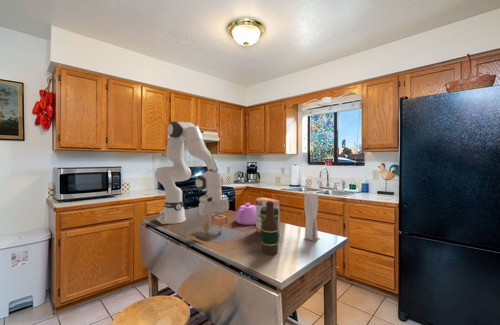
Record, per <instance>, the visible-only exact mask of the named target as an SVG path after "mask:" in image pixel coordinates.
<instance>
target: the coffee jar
mask: <svg viewBox="0 0 500 325" xmlns="http://www.w3.org/2000/svg"><path fill="white" fill-rule="evenodd" d="M266 208H267V206H266V207H262V208H261V214H260V215H261V233H260V241H261V242H262V225H263V222H264V220H265V219H266ZM273 209H274V219H275V220H276V222H277V224H278V216H279V212H278V209H277V208H273ZM278 242H280V236H279V233H278Z"/></svg>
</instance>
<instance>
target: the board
mask: <svg viewBox="0 0 500 325" xmlns="http://www.w3.org/2000/svg"><path fill="white" fill-rule="evenodd" d="M192 234H194V235H196V236H197V237H198V236H199V237H201V238H203V239H206V240H209V241H212V242H214V243H217V244H221V243H224V242H226V241H230V240H233V239H235V238H238V237H241V236H244V235H248V234H247V232H243V231H239V230H237V229H233V228H230V227H226V226H223V225H222V234H220V235H219V234H218V225H216V226H214V227H210V228H209V237H204V229H202V230H199V231H195V232H192Z"/></svg>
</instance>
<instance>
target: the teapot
mask: <svg viewBox="0 0 500 325" xmlns="http://www.w3.org/2000/svg"><path fill="white" fill-rule="evenodd" d="M234 220H235V222H236V223H237V224H239V225H243V226H251V225H253V226H254V225H255V226H256V204H251V203H250V202H245V203H244V204H243V205H240V206H239V207H238V209H237V210H236V213H235V217H234Z"/></svg>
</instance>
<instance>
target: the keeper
mask: <svg viewBox="0 0 500 325" xmlns="http://www.w3.org/2000/svg"><path fill="white" fill-rule="evenodd" d="M202 228H203V230H204V237H209V229H210V228H209V224H202ZM204 237H203V238H204Z"/></svg>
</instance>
